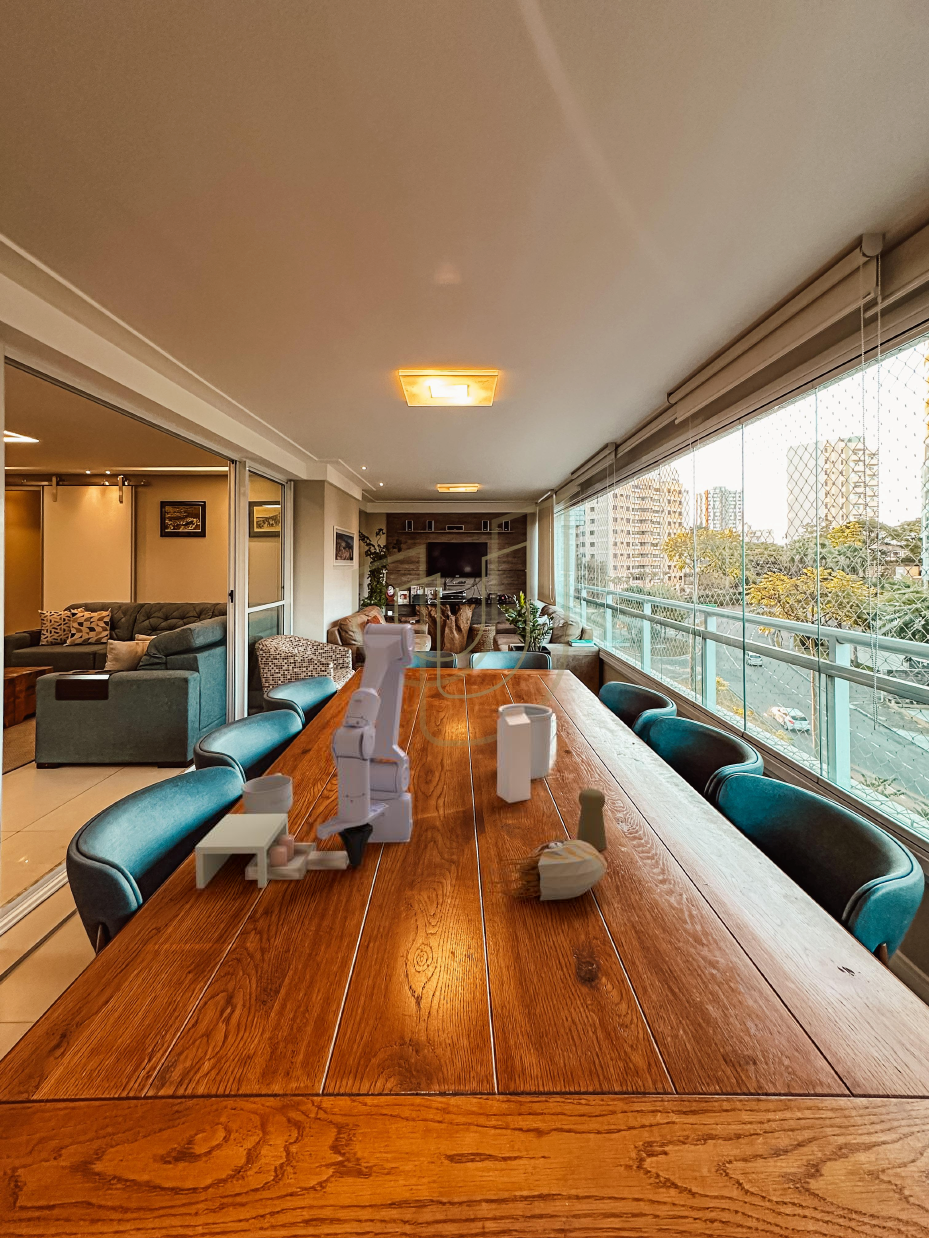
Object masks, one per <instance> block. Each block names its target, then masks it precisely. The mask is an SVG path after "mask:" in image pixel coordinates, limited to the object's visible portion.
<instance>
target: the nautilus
mask: <svg viewBox="0 0 929 1238" xmlns="http://www.w3.org/2000/svg"><path fill="white" fill-rule="evenodd" d="M505 861H523V862H509V863H507V864H506V863H505V864H503V863H502V864H500V866H502V867H503V866H504V867H505V866H515V865H516V866H518V865H520V866H519V867H518V868H516V869H514V870H510V871H509V870H508V871H507V870H506V871H499V872H491V873H490V872H489V873H488V875H495V874H505V873H511V874H512V873H514V874H515V875H516V874H518V873H519V875H518V877H517V878H514V879H507V880H499V881H498V880H497V881H488V884H496V885H497V884H498V885H499V884H508V883H511V884H514V883H516V884H517V885H520V886H518V887H515V888H511V889H506V888H504V889H503V888H501V889H500V890H499V891H488V890H487V891H486V892H487V893H489V894H490V893H492V894H493V893H494V894H495V893H496V894H498V893H504V894H506V895H504V896H502V897H501V899H504V898H506V897H509V896H515V897H522V898H519V899H518V900H515V901H516V902H517V903H518V902H519V901H520V900H523V899H525V898H533V897H537V896H540V897H539V898H540V899H539V900H540V901H547V900H548V901H549V900H550V901H552V900H568V899H572V898H575V897H579V896H582V895H583V894H584V893H586V892H588V891H589V890H590V889H591V888H592V887H593V886H594V885H596V884H597V883H598V882H599V881H600V880H601V879H602V877H603V876H604V875H605V874H606V871H607V869H608V864H607V862H606V860H605V858H604V857H603V855H602V854H601V853H600V851H597V850H596V849H595V848H594V847H593V846H592V845H590V844H589V843H587V842H584V841H581V840H577V839H557V840H553V841H551V842H547V843H544V844H541V845H539V846H538V847H537V848H534V849H533V850H532V851H531V852H530V853H529V854H528V855H527V856H524V857H522V858H520V857H519V858H506V859H505V858H504V859H500V862H505ZM519 882H523V883H522V884H520V883H519ZM527 889H529V890H527ZM524 890H525V891H524ZM512 891H517V892H514V893H510V892H512ZM519 893H526V894H519ZM530 895H531V896H530Z"/></svg>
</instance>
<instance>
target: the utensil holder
mask: <svg viewBox="0 0 929 1238" xmlns="http://www.w3.org/2000/svg"><path fill="white" fill-rule="evenodd" d="M519 707H524V713H525V715H526V716H527V718H528V719H529V720H530V722H531V779H530V780H535V779H541V778H545V777H546V776H547V775H549V772H550V761H551V760H550V759H551V758H550V757H551V738H552V737H551V736H552V733H551V732H552V716H553V709H552V708H551V707H549V706H546V705H545V706H544V705H541V704H535V703H533V704H532V703H510V704H506V705H505V704H504V705H501V706H499V707H498V711H497V713H498V716H499V717H498V719H499V718H500V717H502V716H503V710H504V709H510V708H519Z"/></svg>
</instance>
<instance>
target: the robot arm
mask: <svg viewBox="0 0 929 1238" xmlns="http://www.w3.org/2000/svg"><path fill="white" fill-rule="evenodd" d="M361 639H362V645H363V646H362V647H363V652H364V653H365V660H364V664H363V665H364V666H363V669H362V670H363V671H362V675H361V680H360V685H359V688H358V689H356V690H354V691H353V692H351V696H350V697H349V698H350V699H349V702H348V705H347V708H346V712H345V715H344V718H343V721H342V723H341V724H342V725H341V726H340V727H339V728H337V729H335V730H334V731H333V734H332V738H331V744H330V751H331V755H332V756H333V763H334V764H333V765H334V767H335V768H336V769H337V814H336V815H334V816H333V817H331V818H330V819H328V820H326V821H325V822H323V823H321V824H319V825H317V826H316V836H317V838H319V839H322V840H323V841H324V840H326V839H328V838H329V836H332V835H335V834H338V836H339V838H340V839H341V841H342V843H343V846H344V848H345V851H347V855H348V859H349V863H348V864H349V865H351V866H353V867H356V868H357V867H359V866H361V865H362V862H363V861H362V860H363V857H364V852H365V850H366V849H365V848H366V846H367V843H409V842H410V839H411V834H412V830H413V825H414V824H413V821H414V820H413V819H412V817H413V816H412V815H413V813H412V809H413V808H412V803H413V801H412V794H411V792H406V791H407V790H408V788H409V784H410V778H411V774H410V773H411V770H410V758H409V756H408V755H407V753H406V752H404V750H403V749H401V748H400V747H399V745H398V742H399V732H400V724H401V723H400V722H401V721H400V720H401V713H402V712H401V711H402V704H403V702H402V701H403V692H404V684H405V683H404V682H405V674H406V668H408V667H409V666H411V665H413V664H414V663H413V662H414V661H413V660H414V658H415V657H414V656H415V646H416V636H415V631H414V627H413V626H412V624H410V623H405V624H404V623H403V624H402V623H401V624H397V623H396V624H394V623H391V624H387V623H372V622H369V623H367V624H366V626H365V627H364V629H363V631H362V638H361ZM378 694H379V695H378ZM380 759H381V760H393V761H380ZM376 760H377V761H376ZM394 761H395V762H394Z"/></svg>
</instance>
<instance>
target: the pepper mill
mask: <svg viewBox="0 0 929 1238" xmlns="http://www.w3.org/2000/svg"><path fill="white" fill-rule="evenodd" d="M578 803H579V805H580V807H581V808H580V814H579V821H578V827H577V828H578V829H577V835H576V840H581V841H584V842H587V843H589V844H590V845H592V846H593V847H594V848H595V849H596V850H597V851H598V852H602V851H604V850H606V849H607V847H608V845H607V844H608V843H607V836H606V828H605V819H604V812H603V808H604V807H605V804H606V797H605V794H604V792H603V791H601V790H599V789H595V788H585V789H583V790H581V791H580V792H579V795H578Z"/></svg>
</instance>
